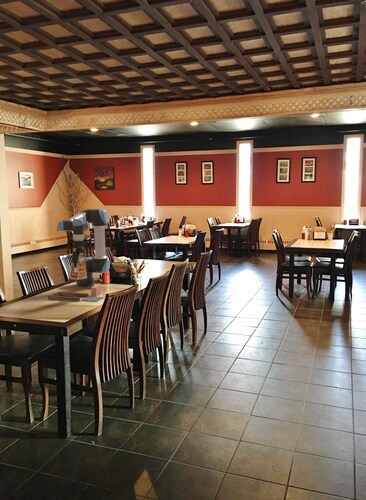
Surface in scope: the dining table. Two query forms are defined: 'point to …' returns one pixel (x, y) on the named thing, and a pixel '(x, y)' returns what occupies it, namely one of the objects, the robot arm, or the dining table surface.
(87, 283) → the robot arm
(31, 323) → the dining table surface
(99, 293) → the latch block
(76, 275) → the milk carton
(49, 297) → the brown wooden tray
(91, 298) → the mat
